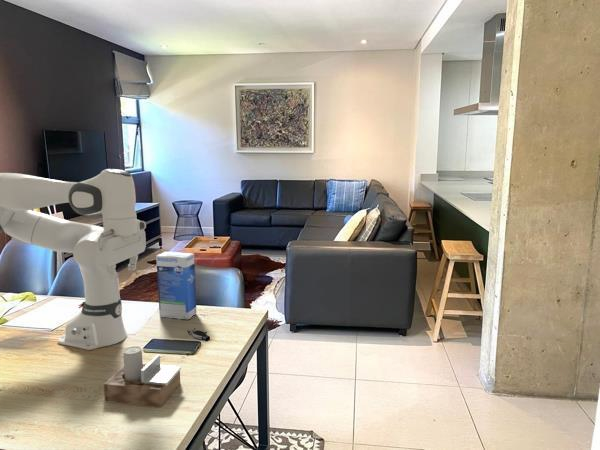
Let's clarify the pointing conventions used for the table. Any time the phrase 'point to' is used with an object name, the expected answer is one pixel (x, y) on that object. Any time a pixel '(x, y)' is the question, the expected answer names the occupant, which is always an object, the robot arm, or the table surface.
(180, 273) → the string lights box
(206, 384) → the table surface
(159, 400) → the socket block
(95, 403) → the table surface
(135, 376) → the beverage can
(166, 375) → the panel
